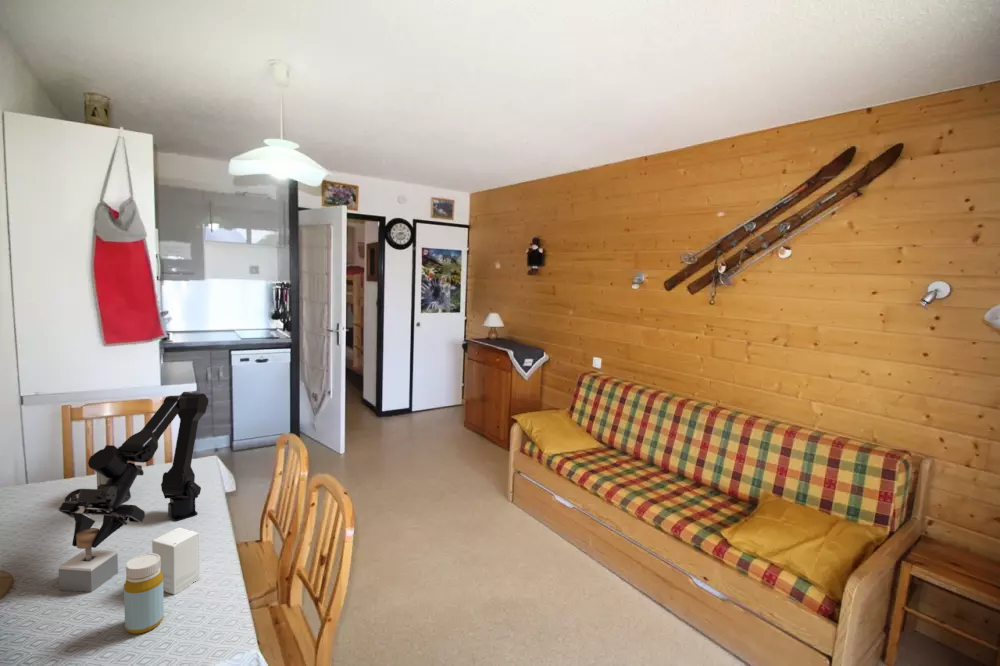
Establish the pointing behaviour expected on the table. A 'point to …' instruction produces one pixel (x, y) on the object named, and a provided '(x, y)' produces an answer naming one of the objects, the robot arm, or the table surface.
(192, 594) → the table surface
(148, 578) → the bottle
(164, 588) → the supplement box
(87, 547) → the plunger
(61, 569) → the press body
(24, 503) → the table surface
